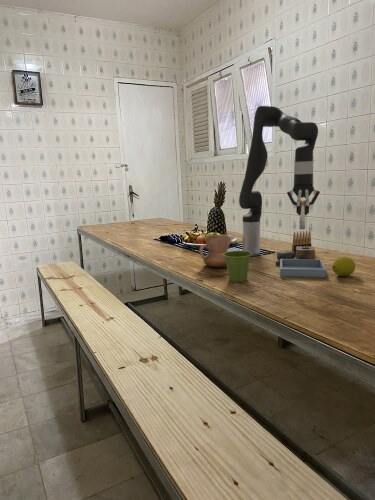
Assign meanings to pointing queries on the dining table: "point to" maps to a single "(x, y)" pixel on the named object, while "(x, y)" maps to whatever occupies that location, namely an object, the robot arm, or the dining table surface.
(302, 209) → the lock pin
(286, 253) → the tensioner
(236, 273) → the plant pot
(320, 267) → the tray
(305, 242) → the ammunition clip
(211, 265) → the ceramic jug
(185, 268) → the dining table surface
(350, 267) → the lemon
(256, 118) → the robot arm
